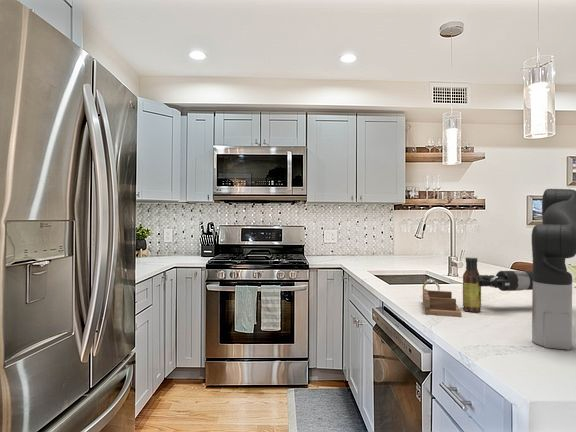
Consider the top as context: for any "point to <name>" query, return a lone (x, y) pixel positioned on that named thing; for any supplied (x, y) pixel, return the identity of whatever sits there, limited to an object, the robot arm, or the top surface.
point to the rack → (440, 303)
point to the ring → (431, 282)
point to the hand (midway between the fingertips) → (472, 281)
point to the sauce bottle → (471, 286)
